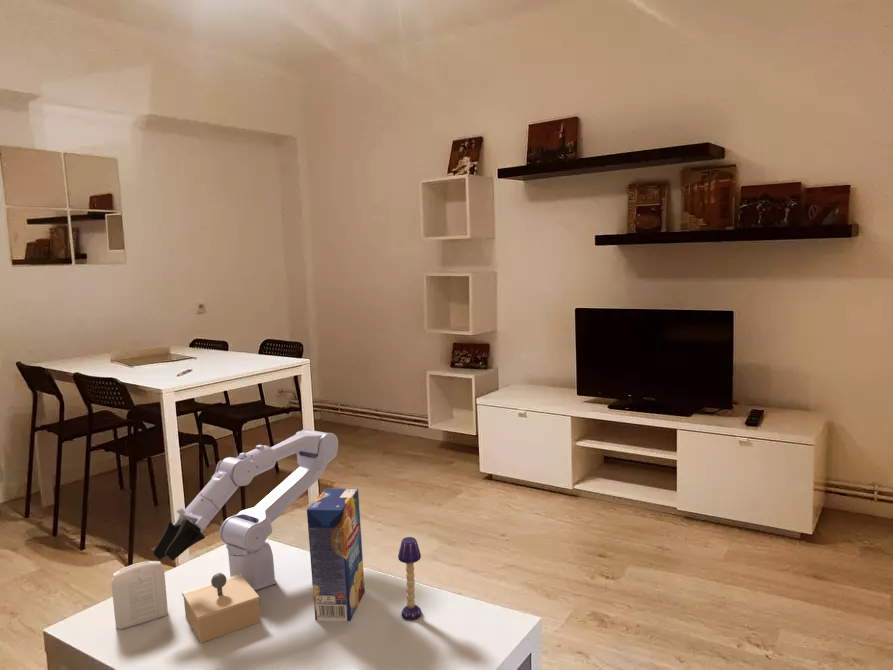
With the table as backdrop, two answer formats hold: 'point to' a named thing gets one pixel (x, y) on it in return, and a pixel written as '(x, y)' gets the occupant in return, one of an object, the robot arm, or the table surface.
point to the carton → (223, 620)
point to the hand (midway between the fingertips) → (162, 557)
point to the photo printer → (139, 593)
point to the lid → (219, 595)
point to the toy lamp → (410, 576)
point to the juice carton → (336, 554)
